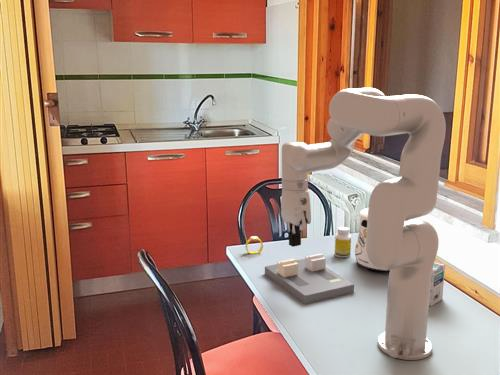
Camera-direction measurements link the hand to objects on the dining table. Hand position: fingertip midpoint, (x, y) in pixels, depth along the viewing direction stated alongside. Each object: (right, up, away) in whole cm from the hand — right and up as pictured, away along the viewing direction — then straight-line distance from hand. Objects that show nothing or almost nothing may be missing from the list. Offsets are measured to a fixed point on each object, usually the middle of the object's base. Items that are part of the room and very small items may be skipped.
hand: (294, 245), depth 166 cm
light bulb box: (+36, -15, -4) cm, 39 cm away
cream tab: (-2, -9, +6) cm, 11 cm away
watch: (-12, -6, +30) cm, 33 cm away
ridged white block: (+7, -8, +10) cm, 15 cm away
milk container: (+30, -9, +19) cm, 37 cm away
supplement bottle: (+19, -7, +28) cm, 34 cm away
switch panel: (+4, -12, +5) cm, 14 cm away
